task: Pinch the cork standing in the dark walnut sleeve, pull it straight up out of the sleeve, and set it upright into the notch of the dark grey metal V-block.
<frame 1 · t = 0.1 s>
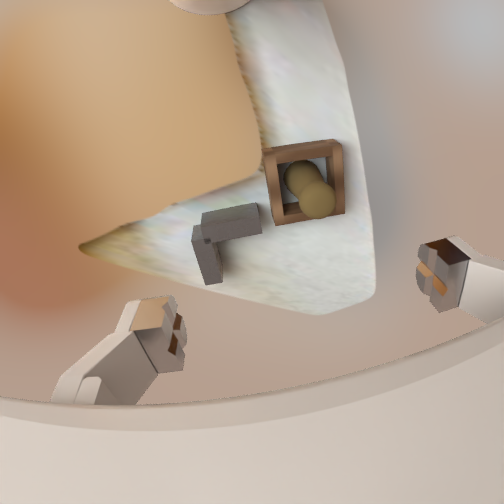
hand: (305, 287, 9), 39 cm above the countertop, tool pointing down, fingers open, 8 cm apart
v block: (239, 242, 54), on the countertop
cork: (301, 176, 48), resting in sleeve
sleeve: (301, 177, 48), on the countertop
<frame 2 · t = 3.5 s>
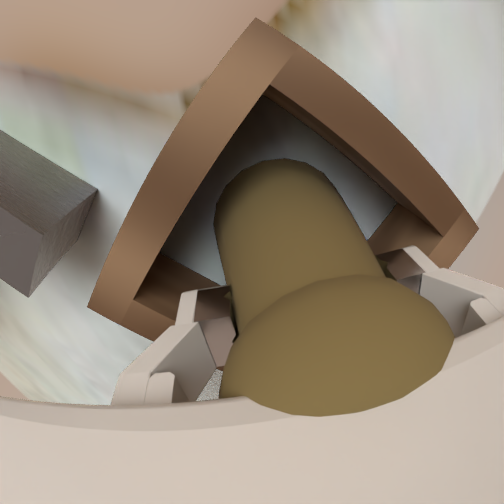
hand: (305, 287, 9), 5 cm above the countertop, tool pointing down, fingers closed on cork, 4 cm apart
v block: (9, 260, 14), on the countertop
cork: (279, 222, 14), resting in sleeve, touching gripper
sleeve: (280, 223, 14), on the countertop
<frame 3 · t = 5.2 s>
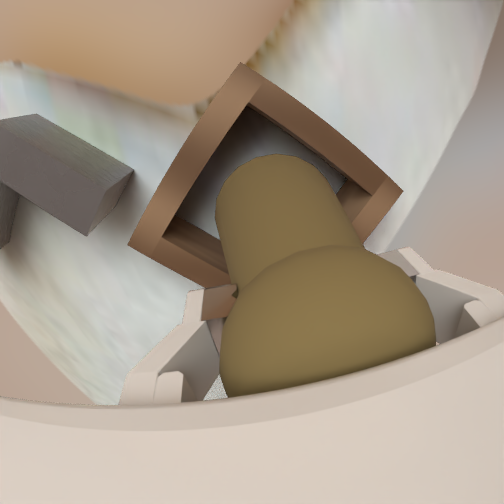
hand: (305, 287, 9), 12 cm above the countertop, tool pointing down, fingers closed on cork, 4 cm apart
v block: (54, 225, 19), on the countertop
cork: (276, 213, 15), point 5 cm above the countertop, touching gripper
sleeve: (261, 194, 20), on the countertop
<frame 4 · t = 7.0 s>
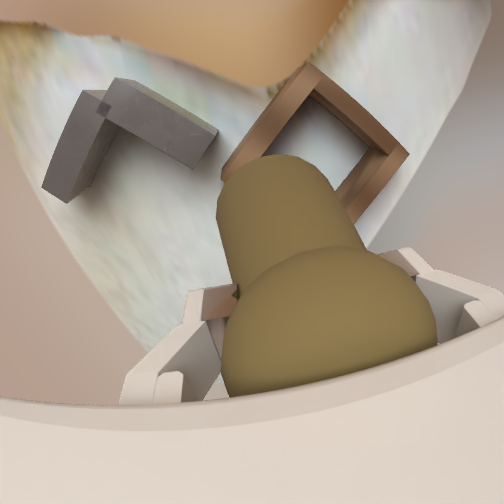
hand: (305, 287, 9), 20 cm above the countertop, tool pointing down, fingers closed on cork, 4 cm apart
v block: (140, 171, 26), on the countertop
cork: (277, 213, 15), point 13 cm above the countertop, touching gripper
sleeve: (310, 153, 27), on the countertop
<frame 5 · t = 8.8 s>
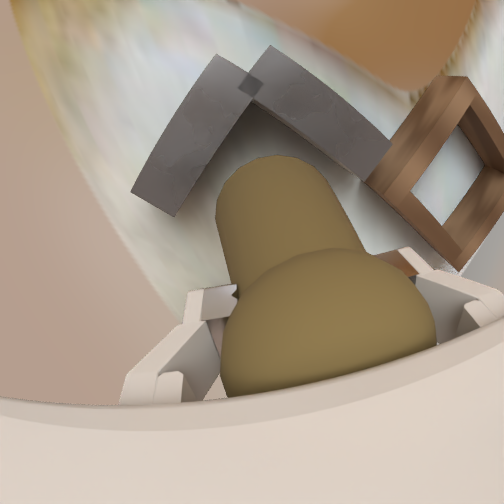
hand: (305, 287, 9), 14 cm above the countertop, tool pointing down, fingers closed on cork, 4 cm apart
v block: (262, 176, 21), on the countertop
cork: (276, 214, 15), point 7 cm above the countertop, touching gripper
sleeve: (441, 168, 22), on the countertop
when the fingers open (7 cm above the countertop, at t = 10.5 s): cork moves 2 cm, resting on v block.
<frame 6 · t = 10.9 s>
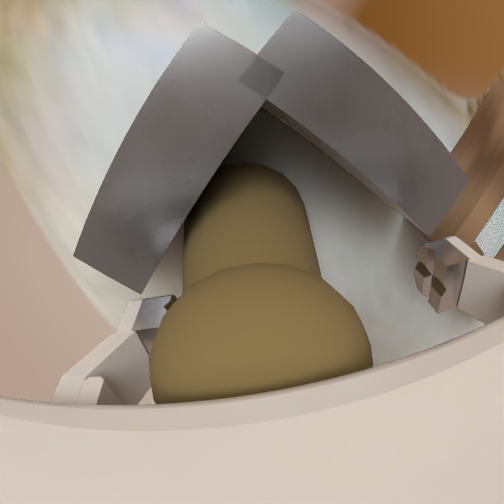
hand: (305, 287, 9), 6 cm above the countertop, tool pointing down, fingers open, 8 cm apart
v block: (273, 215, 15), on the countertop
cork: (245, 221, 15), resting on v block, touching gripper
sleeve: (495, 199, 15), on the countertop
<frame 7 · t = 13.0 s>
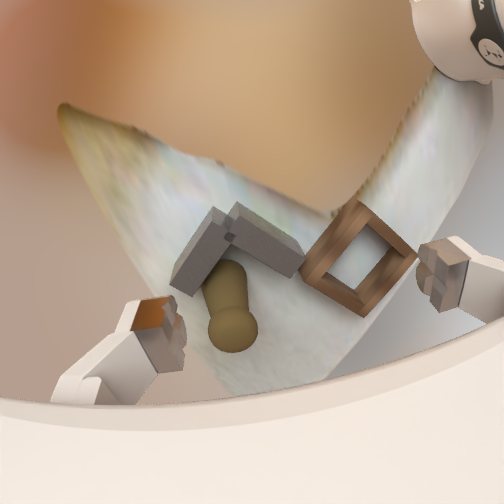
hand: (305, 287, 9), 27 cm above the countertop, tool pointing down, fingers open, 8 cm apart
v block: (238, 267, 39), on the countertop
cork: (223, 278, 39), on the countertop
sleeve: (354, 253, 40), on the countertop
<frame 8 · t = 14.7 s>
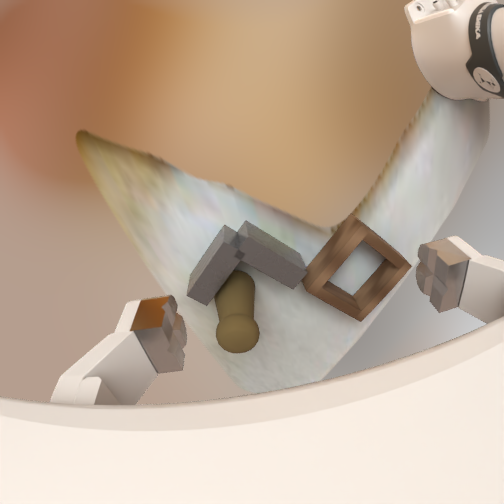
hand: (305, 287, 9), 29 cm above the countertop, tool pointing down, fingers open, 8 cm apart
v block: (247, 277, 43), on the countertop
cork: (233, 286, 44), on the countertop
sleeve: (352, 264, 44), on the countertop
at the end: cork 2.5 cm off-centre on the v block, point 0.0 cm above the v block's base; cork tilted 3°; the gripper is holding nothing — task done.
